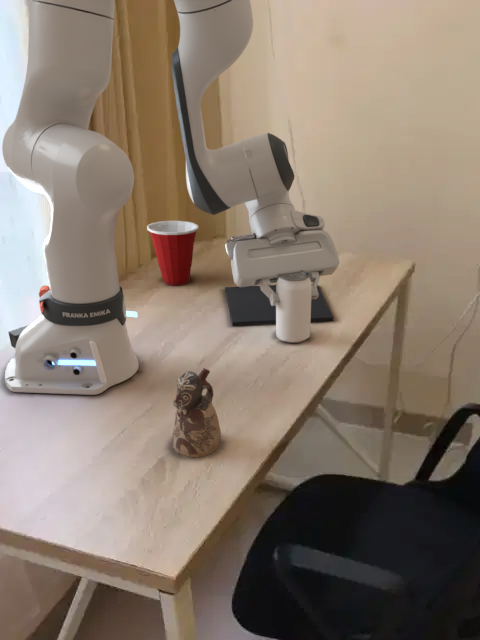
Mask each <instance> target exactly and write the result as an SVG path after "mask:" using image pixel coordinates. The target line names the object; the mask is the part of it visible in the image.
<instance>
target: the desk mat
mask: <svg viewBox="0 0 480 640" xmlns="http://www.w3.org/2000/svg"><path fill="white" fill-rule="evenodd" d="M311 284H312V283H311ZM269 287H270V288H271V289H272V290H273V291H274V293H276V284H270V285H269ZM317 290H318V294H319V297H318V298H317V299H313V300H311V322H310V323H321V322H333V321H334V316H333V313H332V311H331V309H330V307H329V305H328V303H327V301H326V299H325V297H324V295H323V293H322V290H321V288H320V286H319V285H318V286H317ZM224 293H225V297H226V301H227V307H228V312H229V317H230V321H231V325H232V326H234V327H235V326H236V327H237V326H254V325H255V326H258V325H276V305H275V306H271V303H270V300H269V298H268V297H267V296H266V295H265V294H264V293H263V292H262V291H261V289H260V285H255V286H248V287H239V286H224Z"/></svg>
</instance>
